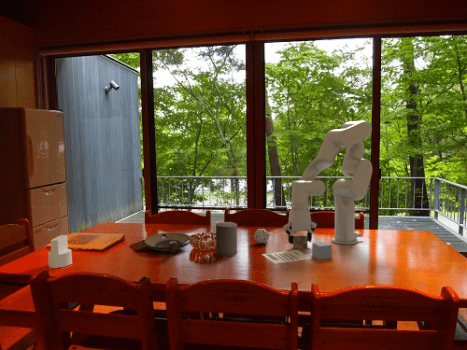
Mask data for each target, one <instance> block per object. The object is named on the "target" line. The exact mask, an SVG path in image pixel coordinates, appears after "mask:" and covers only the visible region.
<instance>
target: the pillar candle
mask: <svg viewBox="0 0 467 350" xmlns="http://www.w3.org/2000/svg"><path fill="white" fill-rule="evenodd" d="M215 241H216V242H215V245H216V246H215V249H216V253H215V254H216V255H217V256H218V257H219V256H220V257H233V256H236V255H237V254H238V224H237V223H235V222H232V221H221V222H218V223H216V224H215Z"/></svg>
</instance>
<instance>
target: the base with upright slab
mask: <svg viewBox="0 0 467 350" xmlns="http://www.w3.org/2000/svg"><path fill="white" fill-rule="evenodd" d="M68 243H69V242H68V235H66V234H61V235H59V236H56V237H54V238H52V239H51V240H50V251H48V253H47V256H48V258H47V259H48V268H49V267H52V268H58V267H65V266H68V265H70V264H72V265H73V257H72V256H73V255H72V254H73V253H72V249H70V248H69V246H68Z"/></svg>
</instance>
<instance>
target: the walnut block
mask: <svg viewBox="0 0 467 350" xmlns="http://www.w3.org/2000/svg"><path fill="white" fill-rule="evenodd" d="M292 236H293V244H292V247H293V248H294V249H295V250H298V251H301V250H307V249H308V242H309V241H308V237H307V235H305V234H302V233H301V234H293V235H292Z"/></svg>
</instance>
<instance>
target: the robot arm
mask: <svg viewBox="0 0 467 350" xmlns="http://www.w3.org/2000/svg"><path fill="white" fill-rule="evenodd" d="M372 130H373V128H372V125H371V124H370V122H368V121H367V120H356V121H355V120H354V121H346V122H344V123H343V124H342V125H341V127H340V128H339V129H338V128H337V129H331V130H329V131H327V133H326V134H325V136H324V139H323V141H322V144H321V146H320V149H319V150H318V153H317V155H316V157H315V158H314V159H313V160H312V161H311V162H310V163H309V164H308V166H306V168H305V170H303V173H302V174H301V175H302V176H301V178H300V180H293V181H292V182H291V209H290V210H289V215H288V222H287V224H285V225H283V227H282V228H283V230H284V233H286V235H287V237H288V243H289V244H290V245H293V235H294V233H295V232H302V231H303V232H304V231H306V236H307V237H308V242H309V243H312V238H313V237H312V235H313V234H314V232H315V230H316V227H317V225H318V224H317V223H316V222H313V221H312V218H311V211H310V209H309V208H310V207H311V203H309V196H314V197H316V196H317V197H318V196H321V195H324V193H325V192H326V189H327V187H326V183H324V182H323V181H322V180H320V179H316V178H317V176H318V175H319V174H320V173H321V172H322V171H323V170H325V169H327V168H329V167H330V166H332V165H334V163H335V161H336V158H337V156H338V153H339V151H340V149H341V148H346V149H345V154H344V157H343V160H342V163H341V164H342V166H341V173H342V175H343V176H345V177H349V178H339V179H336V181H335V182H334V183H333V187H332V193H333V199H334V237H331V242H332V243H334V244H336V245H337V244H339V245H344V246H345V245H355V244H357V243H358V238H361V237H363V233H362V232H356V231H355V226H356V224H355V220H356V218H355V217H356V216H355V214H356V208H355V207H356V206H355V201H361V200H362V199H364V198H365V197H366V194H367V193H368V189H369V186H370V181H371V179H372V174H373V165H372V162H371V161H370V160H369V159H366V158H364V153H365V145H364V142H363V141H364V140H366V139H368V138H369V137H370V136H371V134H372ZM350 178H352V179H350Z"/></svg>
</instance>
